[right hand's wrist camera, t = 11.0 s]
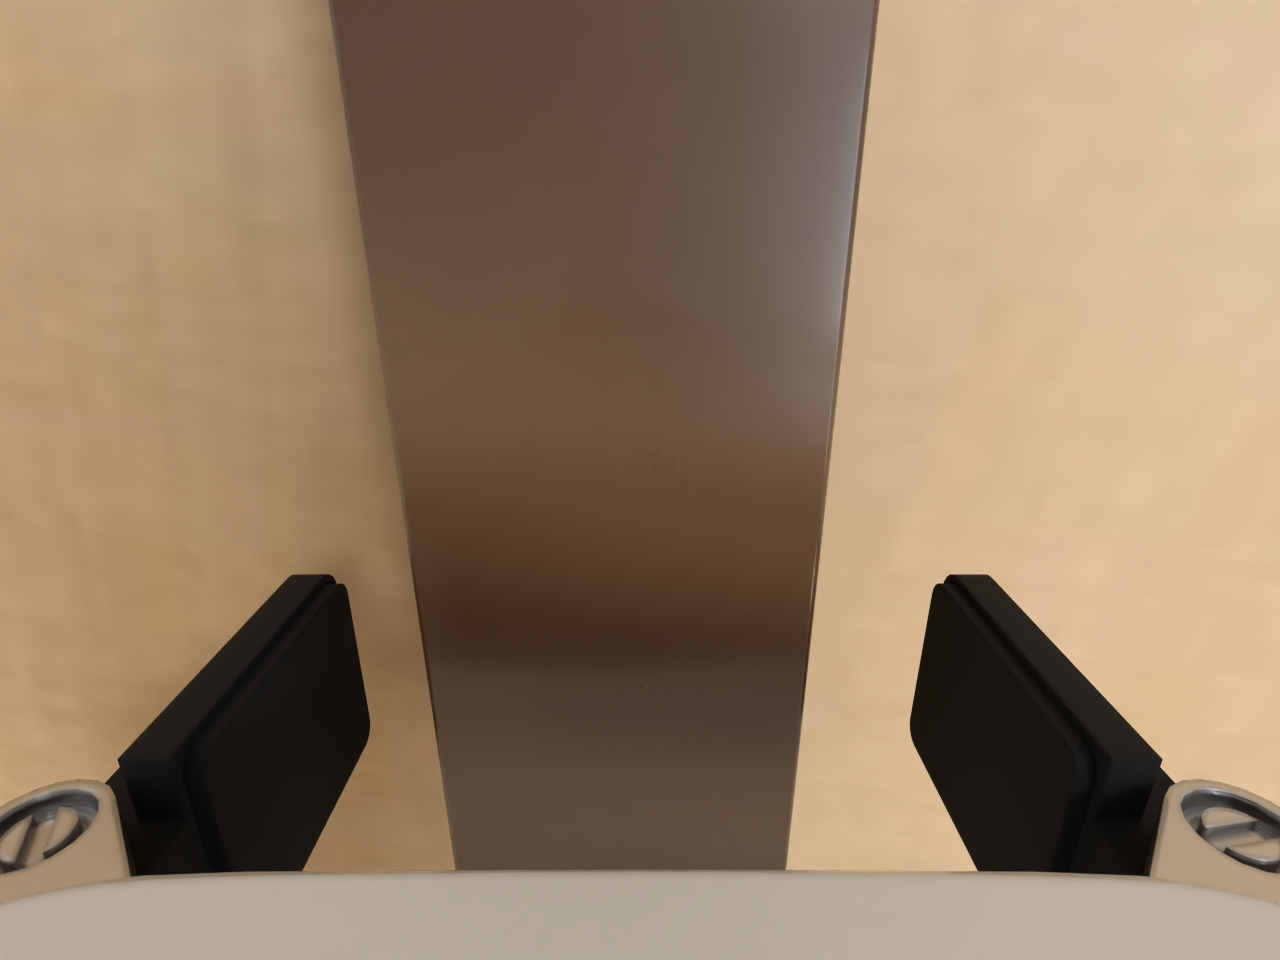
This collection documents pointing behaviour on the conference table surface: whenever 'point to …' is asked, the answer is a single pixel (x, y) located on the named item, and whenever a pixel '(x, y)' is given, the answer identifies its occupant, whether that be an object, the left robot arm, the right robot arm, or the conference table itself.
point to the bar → (611, 398)
